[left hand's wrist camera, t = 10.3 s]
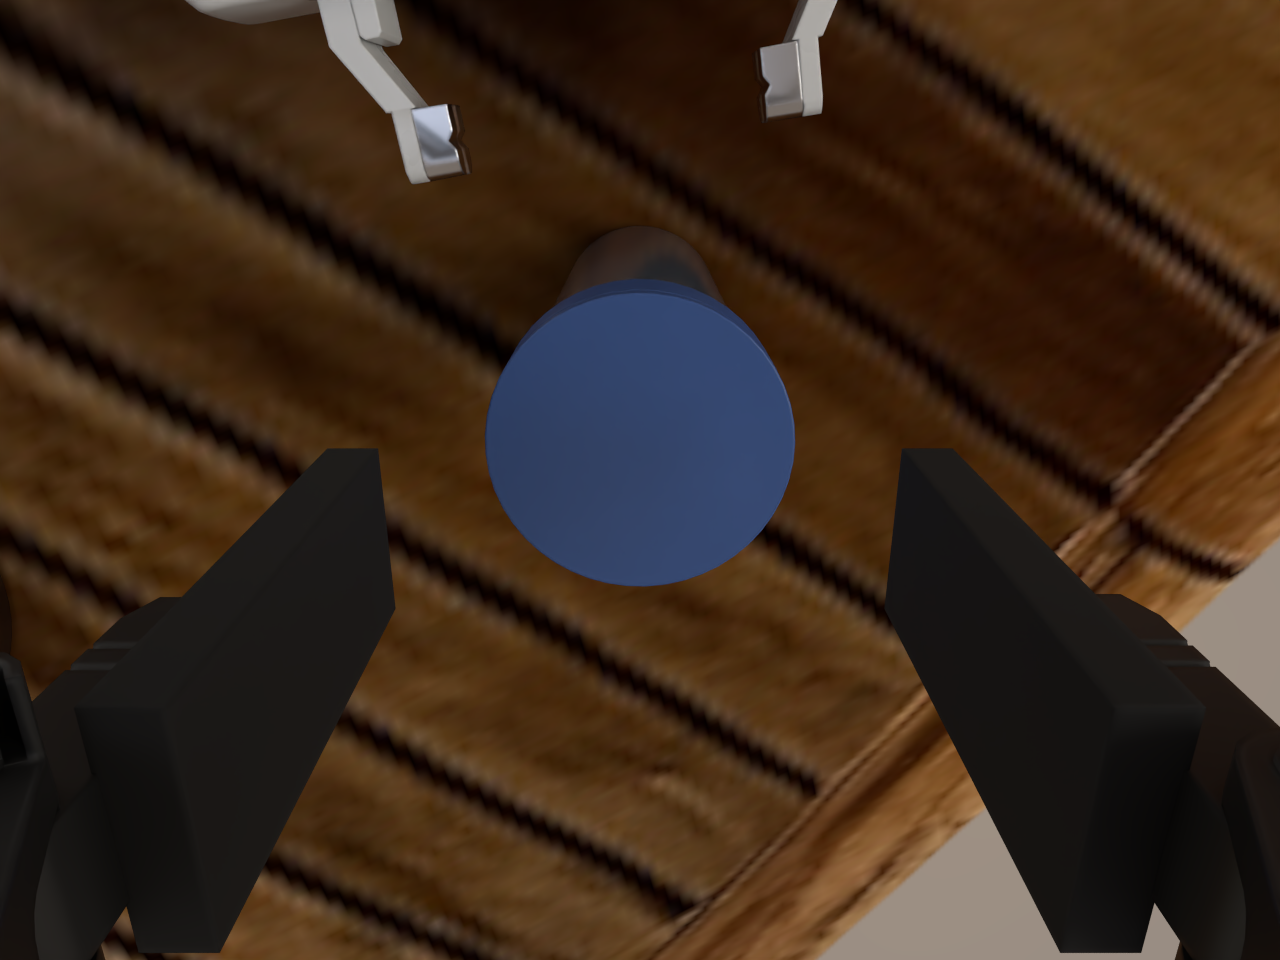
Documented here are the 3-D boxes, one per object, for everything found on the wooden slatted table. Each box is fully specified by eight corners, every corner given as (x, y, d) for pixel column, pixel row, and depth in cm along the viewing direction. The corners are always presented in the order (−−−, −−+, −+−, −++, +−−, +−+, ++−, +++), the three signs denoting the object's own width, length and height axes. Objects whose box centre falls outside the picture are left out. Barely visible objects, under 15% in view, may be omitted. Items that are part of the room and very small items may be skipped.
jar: (745, 285, 32) (830, 411, 18) (656, 404, 34) (670, 608, 19) (621, 193, 31) (605, 248, 17) (535, 321, 33) (454, 471, 18)
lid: (841, 389, 19) (859, 413, 17) (671, 598, 21) (673, 637, 19) (603, 217, 18) (599, 225, 16) (444, 453, 20) (426, 483, 18)
